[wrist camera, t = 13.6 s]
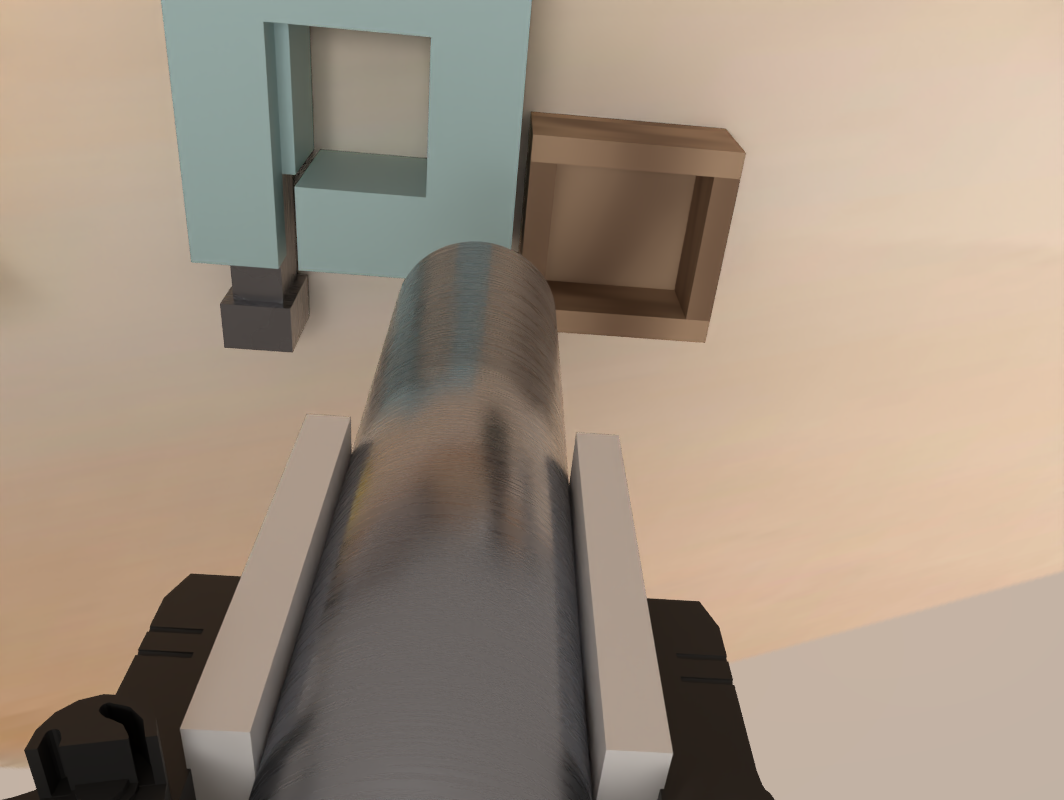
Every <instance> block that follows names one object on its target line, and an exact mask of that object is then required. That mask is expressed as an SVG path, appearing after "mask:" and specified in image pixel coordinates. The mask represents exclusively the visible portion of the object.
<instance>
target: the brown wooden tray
mask: <svg viewBox="0 0 1064 800" xmlns="http://www.w3.org/2000/svg"><path fill="white" fill-rule="evenodd" d="M745 155H746V153H745V151H744V150H743V149H742V148H741V147H740V145H739V144H738V143H737V142H736V141H735V139H734V138H733V137H732V136H731V135H730V133H729V132H728V131H727V130H726V129H722V128H710V127H699V126H688V125H676V124H665V123H654V122H642V121H631V120H620V119H608V118H597V117H586V116H575V115H563V114H552V113H541V112H531V120H530V131H529V143H528V154H527V166H526V177H525V188H524V200H523V211H522V222H521V234H520V245H519V254H520V255H522V256H523V257H525V258H526V259H527V260H529V261H530V262H531V263H532V264H533V265H534V266H535V267H536V268H537V269H538V270H539V271H540V273H541V274H542V275H543V276H544V278H545V280H546V281H547V283H548V285H549V287H550V289H551V292H552V294H553V298H554V302H555V308H556V319H557V332H565V333H578V334H592V335H606V336H620V337H634V338H647V339H661V340H675V341H689V342H703V343H705V340H706V336H707V331H708V327H709V322H710V317H711V313H712V308H713V303H714V299H715V294H716V289H717V285H718V280H719V275H720V271H721V266H722V262H723V257H724V252H725V248H726V243H727V238H728V234H729V229H730V224H731V220H732V215H733V210H734V206H735V201H736V197H737V192H738V187H739V183H740V178H741V173H742V169H743V164H744V159H745Z"/></svg>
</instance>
